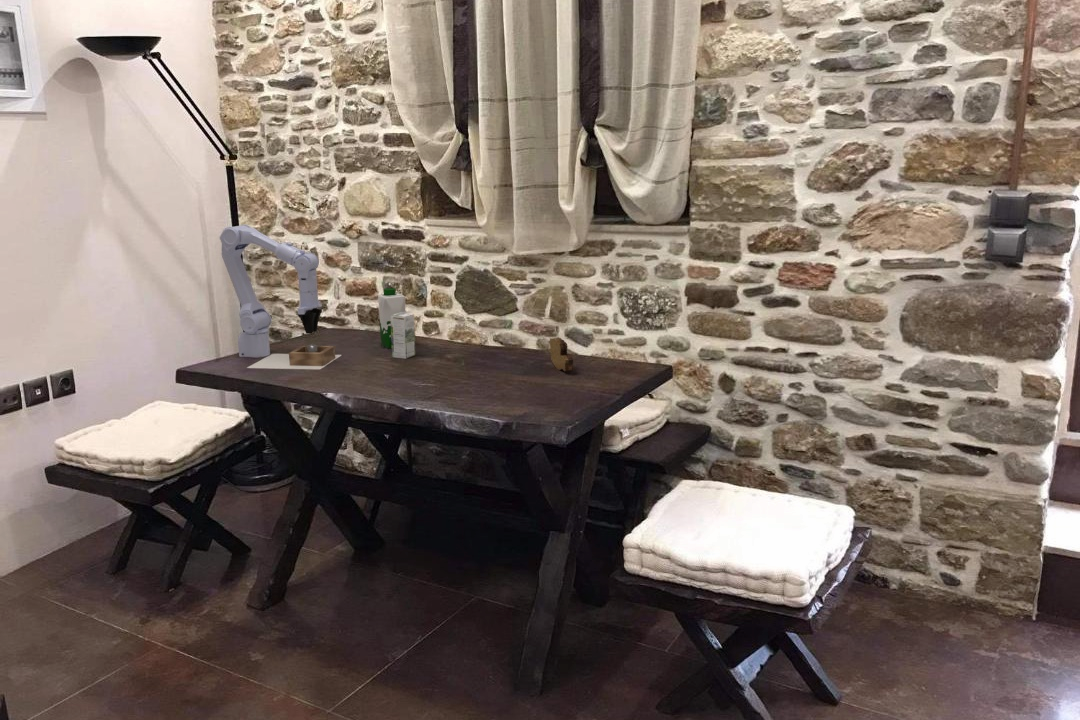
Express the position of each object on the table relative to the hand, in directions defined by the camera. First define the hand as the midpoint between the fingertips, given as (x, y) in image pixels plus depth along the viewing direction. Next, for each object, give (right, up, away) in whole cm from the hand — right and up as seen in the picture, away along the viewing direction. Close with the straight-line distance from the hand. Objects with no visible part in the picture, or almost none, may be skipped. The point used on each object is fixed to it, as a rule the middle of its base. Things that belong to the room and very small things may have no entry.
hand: (311, 332), depth 286 cm
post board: (-4, -11, -3) cm, 12 cm away
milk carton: (+23, -4, +23) cm, 33 cm away
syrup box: (+29, -8, +7) cm, 31 cm away
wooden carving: (+81, -12, -12) cm, 83 cm away
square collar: (+2, -10, -4) cm, 11 cm away
